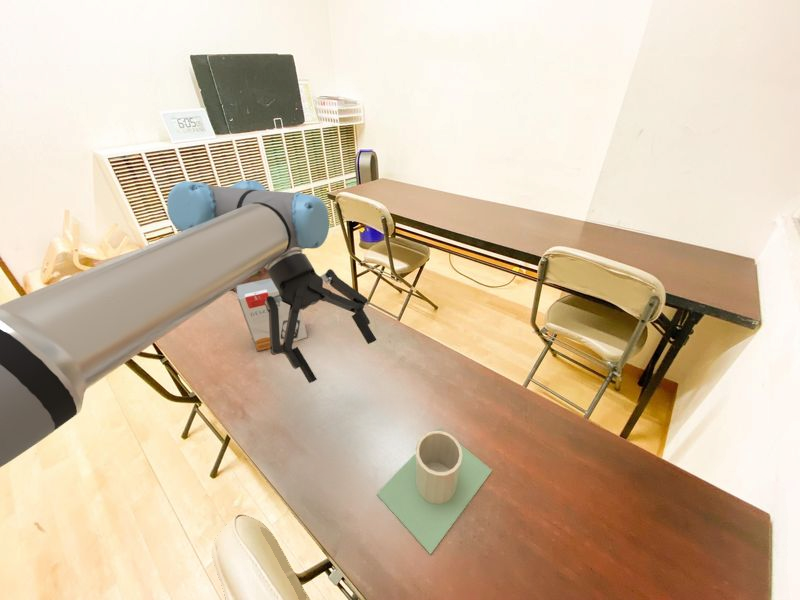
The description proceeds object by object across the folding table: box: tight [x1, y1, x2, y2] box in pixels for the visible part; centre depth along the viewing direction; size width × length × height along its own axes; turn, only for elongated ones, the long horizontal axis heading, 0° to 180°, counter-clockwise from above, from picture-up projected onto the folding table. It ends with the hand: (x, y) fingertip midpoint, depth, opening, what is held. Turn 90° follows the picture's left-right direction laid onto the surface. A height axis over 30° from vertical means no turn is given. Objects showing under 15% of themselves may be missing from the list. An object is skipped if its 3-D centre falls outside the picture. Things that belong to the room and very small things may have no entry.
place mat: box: [376, 427, 493, 556], centre depth 66 cm, size 20×14×1 cm
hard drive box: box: [236, 278, 308, 352], centre depth 96 cm, size 16×8×20 cm, turn 114°
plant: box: [230, 267, 270, 294], centre depth 127 cm, size 20×20×11 cm
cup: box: [415, 430, 463, 504], centre depth 62 cm, size 8×8×12 cm
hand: (344, 360), depth 59 cm, fingers open, 13 cm apart
